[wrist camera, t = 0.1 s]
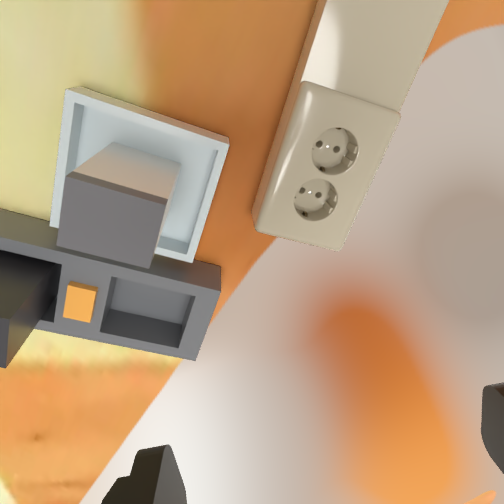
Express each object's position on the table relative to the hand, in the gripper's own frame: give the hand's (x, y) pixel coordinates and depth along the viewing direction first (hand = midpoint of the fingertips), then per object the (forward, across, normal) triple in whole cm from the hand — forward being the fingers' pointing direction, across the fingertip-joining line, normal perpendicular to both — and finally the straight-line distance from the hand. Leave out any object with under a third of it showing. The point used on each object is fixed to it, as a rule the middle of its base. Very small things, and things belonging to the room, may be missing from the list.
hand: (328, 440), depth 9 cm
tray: (+22, +8, -5) cm, 24 cm away
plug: (+21, +8, -5) cm, 23 cm away
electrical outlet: (+22, -6, -7) cm, 24 cm away
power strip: (+23, +15, +2) cm, 27 cm away
